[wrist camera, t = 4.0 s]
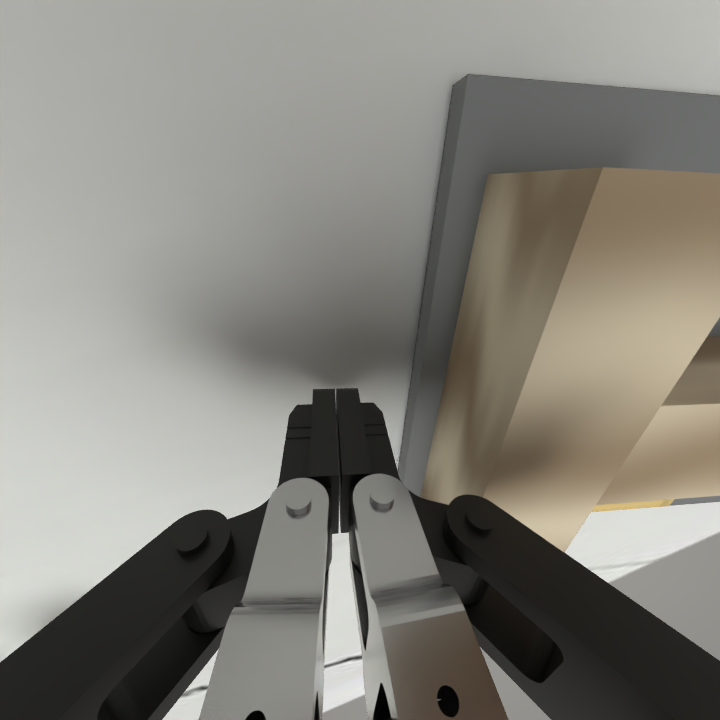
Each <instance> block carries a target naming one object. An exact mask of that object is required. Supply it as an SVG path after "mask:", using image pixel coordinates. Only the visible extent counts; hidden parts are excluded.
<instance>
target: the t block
mask: <svg viewBox="0 0 720 720" xmlns="http://www.w3.org/2000/svg"><path fill="white" fill-rule="evenodd" d="M719 318H720V173H702V172H684V171H665V170H647V169H628V168H610V167H598V168H582V169H566V170H550V171H534V172H518V173H502V174H488V176H487V180H486V185H485V190H484V195H483V200H482V204H481V209H480V214H479V219H478V224H477V228H476V233H475V238H474V243H473V248H472V252H471V257H470V262H469V267H468V272H467V276H466V281H465V286H464V291H463V295H462V300H461V305H460V310H459V315H458V319H457V324H456V329H455V334H454V339H453V343H452V348H451V353H450V358H449V363H448V367H447V372H446V377H445V382H444V387H443V391H442V396H441V401H440V406H439V410H438V415H437V420H436V425H435V430H434V434H433V439H432V444H431V449H430V454H429V458H428V463H427V468H426V473H425V478H424V482H423V487H422V492H421V498H424V499H427V500H431V501H435V502H439V503H443V504H447V505H449V504H450V502H451V501H452V500H453V499H454V498H456V497H458V496H461V495H466V494H470V495H477V496H480V497H483V498H485V499H487V500H489V501H491V502H492V503H494V504H495V505H497V506H498V507H499V508H501V509H502V510H504V511H505V512H507V513H508V514H510V515H511V516H512V517H514V518H515V519H517V520H518V521H520V522H521V523H522V524H524V525H525V526H527V527H528V528H530V529H531V530H533V531H534V532H535V533H537V534H538V535H540V536H541V537H543V538H544V539H545V540H547V541H548V542H550V543H551V544H553V545H554V546H555V547H557V548H558V549H560V550H561V551H563V552H565V551H566V549H567V548H568V546H569V545H570V543H571V542H572V540H573V539H574V537H575V536H576V534H577V533H578V531H579V530H580V528H581V527H582V525H583V523H584V522H585V520H586V519H587V517H588V516H589V514H590V513H591V511H592V510H593V508H594V507H595V505H604V504H617V503H630V502H643V501H656V500H669V499H682V498H696V497H709V496H720V336H708V334H709V333H710V331H711V330H712V328H713V327H714V325H715V324H716V322H717V321H718V319H719Z"/></svg>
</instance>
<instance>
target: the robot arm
mask: <svg viewBox="0 0 720 720" xmlns="http://www.w3.org/2000/svg"><path fill="white" fill-rule="evenodd" d="M339 505H340V526H341V533H347V532H349V542H350V570H351V577H352V585H353V592H354V599H355V606H356V614H357V621H358V628H359V635H360V643H361V650H362V660H363V677H364V688H365V697H366V705H367V713H368V720H508V718H507V715H506V712H505V710H504V707H503V705H502V702H501V699H500V697H499V694H498V692H497V689H496V687H495V684H494V682H493V679H492V677H491V674H490V672H489V669H488V667H487V664H486V662H485V659H484V656H483V655H482V651H481V649H480V647H481V648H482V649H483V650H484V651H485V652H486V653H487V654H488V655H489V656H490V657H491V658H492V659H493V660H494V661H495V662H496V663H497V664H498V665H499V666H500V667H501V668H502V669H503V671H504V672H505V673H506V674H507V675H508V676H509V677H510V678H511V679H512V680H513V681H514V682H515V683H516V684H517V685H518V686H519V687H520V688H521V689H522V690H523V691H524V692H525V693H526V694H527V695H528V696H529V697H530V698H531V699H532V700H533V701H534V702H535V703H536V704H537V705H538V706H539V707H540V709H542V710H543V712H544V713H546V715H548V717H549V718H550V719H552V720H720V661H719V660H718V659H716V658H715V657H713V656H712V655H710V654H709V653H708V652H706V651H705V650H703V649H702V648H700V647H699V646H697V645H696V644H695V643H693V642H692V641H690V640H689V639H687V638H686V637H685V636H683V635H682V634H680V633H679V632H677V631H676V630H675V629H673V628H672V627H670V626H669V625H667V624H666V623H665V622H663V621H662V620H660V619H659V618H657V617H656V616H654V615H653V614H652V613H650V612H649V611H647V610H646V609H644V608H643V607H642V606H640V605H639V604H637V603H636V602H634V601H633V600H632V599H630V598H629V597H627V596H626V595H624V594H623V593H621V592H620V591H619V590H617V589H616V588H614V587H613V586H611V585H610V584H609V583H607V582H606V581H604V580H603V579H601V578H600V577H599V576H597V575H596V574H594V573H593V572H591V571H590V570H588V569H587V568H586V567H584V566H583V565H581V564H580V563H578V562H577V561H576V560H574V559H573V558H571V557H570V556H568V555H567V554H566V553H564V552H563V551H561V550H560V549H558V548H557V547H555V546H554V545H553V544H551V543H550V542H548V541H547V540H545V539H544V538H543V537H541V536H540V535H538V534H537V533H535V532H534V531H533V530H531V529H530V528H528V527H527V526H525V525H524V524H522V523H521V522H520V521H518V520H517V519H515V518H514V517H512V516H511V515H510V514H508V513H507V512H505V511H504V510H502V509H501V508H499V507H498V506H497V505H495V504H494V503H492V502H491V501H489V500H487V499H485V498H483V497H480V496H477V495H470V494H466V495H461V496H458V497H456V498H454V499H453V500H452V501H451V502H450V504H449V505H447V504H443V503H439V502H435V501H431V500H427V499H424V498H421V497H419V496H417V495H415V494H414V493H412V492H411V491H409V490H408V489H407V488H406V486H405V485H404V484H403V483H402V482H401V480H400V478H399V475H398V472H397V468H396V464H395V460H394V456H393V452H392V448H391V444H390V440H389V437H388V433H387V429H386V426H385V421H384V417H383V413H382V411H381V410H380V409H379V408H378V407H377V406H376V405H375V404H374V403H360V397H359V392H358V388H346V389H336V403H335V389H313V402H312V404H311V405H297V406H296V407H295V408H294V410H293V411H292V412H291V414H290V415H289V419H288V426H287V433H286V441H285V446H284V452H283V459H282V465H281V472H280V479H279V483H278V486H277V489H276V490H275V491H274V492H273V493H272V495H271V497H270V498H269V499H268V500H267V501H266V502H265V503H264V504H262V505H261V506H259V507H258V508H256V509H254V510H252V511H249V512H247V513H244V514H241V515H238V516H236V517H233V518H230V519H227V518H226V517H225V516H224V515H223V514H221V513H220V512H217V511H214V510H200V511H196V512H192V513H190V514H188V515H185V516H184V517H182V518H180V519H179V520H177V521H176V522H174V523H173V524H172V525H171V526H169V527H168V528H167V529H166V530H164V531H163V532H162V533H161V534H159V535H158V536H157V537H156V538H154V539H153V540H152V541H151V542H149V543H148V544H147V545H146V546H145V547H143V548H142V549H141V550H140V551H138V552H137V553H136V554H135V555H133V556H132V557H131V558H130V559H128V560H127V561H126V562H125V563H123V564H122V565H121V566H120V567H118V568H117V569H116V570H115V571H113V572H112V573H111V574H110V575H109V576H107V577H106V578H105V579H104V580H102V581H101V582H100V583H99V584H97V585H96V586H95V587H94V588H92V589H91V590H90V591H89V592H87V593H86V594H85V595H84V596H82V597H81V598H80V599H79V600H77V601H76V602H75V603H74V604H72V605H71V606H70V607H69V608H68V609H66V610H65V611H64V612H63V613H61V614H60V615H59V616H58V617H56V618H55V619H54V620H53V621H51V622H50V623H49V624H48V625H46V626H45V627H44V628H43V629H41V630H40V631H39V632H38V633H36V634H35V635H34V636H33V637H31V638H30V639H29V640H28V641H27V642H25V643H24V644H23V645H22V646H20V647H19V648H18V649H17V650H15V651H14V652H13V653H12V654H10V655H9V656H8V657H7V658H5V659H4V660H3V661H2V662H0V720H162V719H163V718H164V717H165V715H166V714H167V713H168V712H169V710H170V709H171V708H172V707H173V705H174V704H175V703H176V702H177V700H178V699H179V698H180V696H181V695H182V694H183V693H184V691H185V690H186V689H187V688H188V686H189V685H190V684H191V683H192V681H193V680H194V679H195V678H196V676H197V675H198V674H199V673H200V671H201V670H202V669H203V668H204V666H205V665H206V664H207V663H208V661H209V660H210V659H211V658H212V656H213V655H214V654H215V653H216V651H217V650H218V649H219V650H218V654H217V657H216V661H215V665H214V668H213V672H212V675H211V679H210V682H209V686H208V689H207V693H206V696H205V700H204V703H203V707H202V710H201V714H200V717H199V720H322V710H323V688H324V658H325V639H326V621H327V603H328V585H329V566H330V563H331V559H332V534H336V533H338V527H339Z"/></svg>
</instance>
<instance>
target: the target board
mask: <svg viewBox="0 0 720 720" xmlns="http://www.w3.org/2000/svg"><path fill="white" fill-rule="evenodd" d="M598 167H610V168H628V169H647V170H665V171H684V172H702V173H720V96H719V95H708V94H696V93H684V92H673V91H661V90H649V89H638V88H626V87H614V86H603V85H591V84H579V83H568V82H556V81H544V80H533V79H521V78H509V77H498V76H486V75H474V74H468V75H466V76H465V77H464V78H462V79H461V80H460V81H459V82H457V83H456V84H455V85H453V89H452V96H451V103H450V110H449V117H448V124H447V131H446V138H445V145H444V152H443V159H442V166H441V173H440V180H439V187H438V194H437V201H436V208H435V215H434V222H433V229H432V236H431V243H430V250H429V257H428V264H427V271H426V278H425V285H424V292H423V299H422V306H421V313H420V320H419V327H418V334H417V341H416V348H415V355H414V362H413V369H412V376H411V383H410V390H409V397H408V404H407V411H406V418H405V425H404V432H403V439H402V446H401V453H400V460H399V467H398V475H399V478H400V480H401V482H402V483H403V484H404V485H405V486H406V488H407V489H408V490H409V491H411V492H412V493H414V494H415V495H417V496H419V497H421V492H422V487H423V482H424V478H425V473H426V468H427V463H428V458H429V454H430V449H431V444H432V439H433V434H434V430H435V425H436V420H437V415H438V410H439V406H440V401H441V396H442V391H443V387H444V382H445V377H446V372H447V367H448V363H449V358H450V353H451V348H452V343H453V339H454V334H455V329H456V324H457V319H458V315H459V310H460V305H461V300H462V295H463V291H464V286H465V281H466V276H467V272H468V267H469V262H470V257H471V252H472V248H473V243H474V238H475V233H476V228H477V224H478V219H479V214H480V209H481V204H482V200H483V195H484V190H485V185H486V180H487V176H488V174H502V173H518V172H534V171H550V170H566V169H582V168H598ZM708 336H720V318H719V319H718V321H717V322H716V324H715V325H714V327H713V328H712V330H711V331H710V333H709V334H708ZM708 502H720V496H709V497H696V498H682V499H669V500H656V501H643V502H630V503H617V504H604V505H595V507H594V508H593V510H592V511H591V512H598V511H611V510H624V509H636V508H649V507H662V506H670V505H683V504H696V503H708Z"/></svg>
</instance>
